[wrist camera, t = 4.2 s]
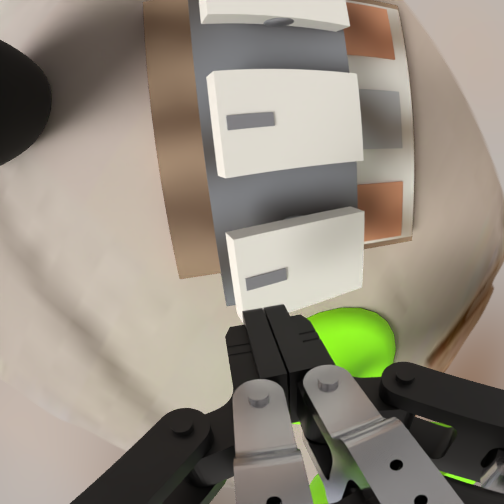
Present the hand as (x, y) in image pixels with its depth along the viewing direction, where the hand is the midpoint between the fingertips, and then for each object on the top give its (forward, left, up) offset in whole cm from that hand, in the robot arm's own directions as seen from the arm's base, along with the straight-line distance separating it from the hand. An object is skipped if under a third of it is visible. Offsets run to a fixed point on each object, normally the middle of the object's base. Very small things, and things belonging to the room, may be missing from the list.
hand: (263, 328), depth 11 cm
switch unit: (-7, +5, -13) cm, 16 cm away
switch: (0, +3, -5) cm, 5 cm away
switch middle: (-7, +3, -5) cm, 9 cm away
